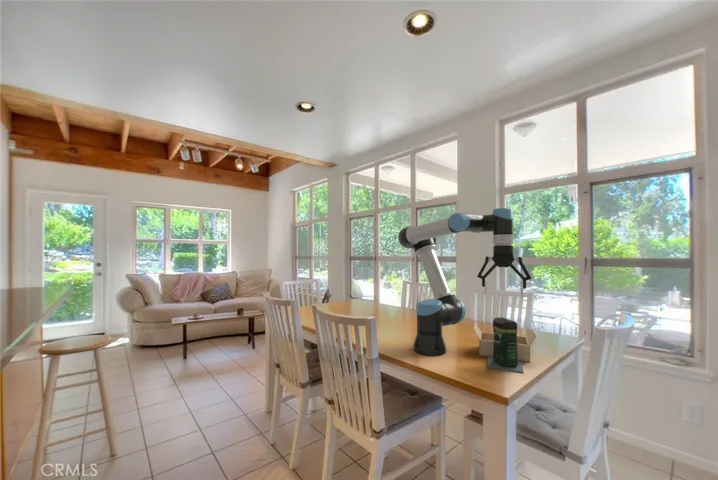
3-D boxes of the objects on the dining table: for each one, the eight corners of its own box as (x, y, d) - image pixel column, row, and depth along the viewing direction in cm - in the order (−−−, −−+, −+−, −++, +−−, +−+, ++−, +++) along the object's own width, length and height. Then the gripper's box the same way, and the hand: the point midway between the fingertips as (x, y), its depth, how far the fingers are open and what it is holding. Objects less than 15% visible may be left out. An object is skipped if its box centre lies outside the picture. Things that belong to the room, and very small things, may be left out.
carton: (473, 354, 138) (473, 329, 139) (475, 345, 152) (475, 322, 152) (537, 363, 128) (536, 336, 128) (533, 352, 142) (532, 327, 142)
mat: (487, 367, 123) (487, 366, 123) (487, 357, 135) (487, 356, 135) (523, 373, 118) (523, 371, 118) (520, 361, 129) (520, 360, 129)
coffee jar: (521, 367, 122) (521, 320, 122) (503, 368, 121) (503, 321, 121) (506, 358, 131) (506, 315, 132) (489, 359, 130) (489, 316, 131)
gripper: (470, 245, 129) (471, 294, 129) (538, 244, 119) (539, 299, 119) (472, 245, 136) (472, 292, 136) (536, 245, 126) (536, 296, 125)
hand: (503, 295), depth 127 cm, fingers open, 13 cm apart
